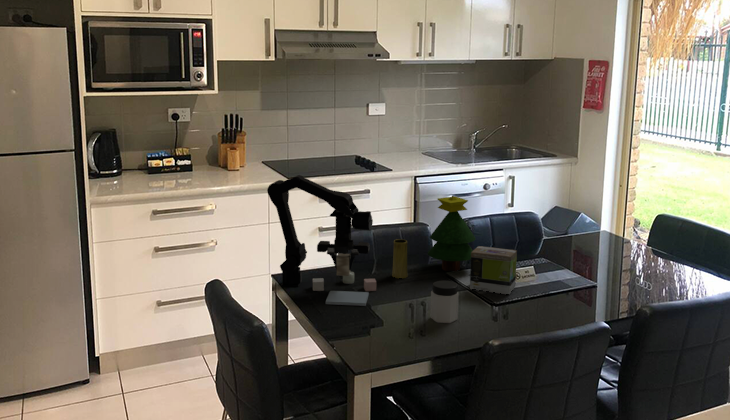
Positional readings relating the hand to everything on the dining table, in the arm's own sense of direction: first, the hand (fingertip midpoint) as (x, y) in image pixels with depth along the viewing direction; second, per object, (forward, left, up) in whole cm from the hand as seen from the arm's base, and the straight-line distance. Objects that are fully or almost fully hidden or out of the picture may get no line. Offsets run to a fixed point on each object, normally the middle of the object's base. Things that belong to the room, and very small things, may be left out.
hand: (343, 269), depth 271 cm
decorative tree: (+40, +29, -8) cm, 50 cm away
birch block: (0, 0, -2) cm, 2 cm away
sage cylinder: (+1, +8, -8) cm, 11 cm away
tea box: (+55, +7, -8) cm, 56 cm away
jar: (+37, -25, -8) cm, 45 cm away
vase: (+20, +17, -8) cm, 27 cm away
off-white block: (-9, -1, -8) cm, 12 cm away
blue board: (+3, -11, -7) cm, 14 cm away
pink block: (+10, +1, -8) cm, 12 cm away
